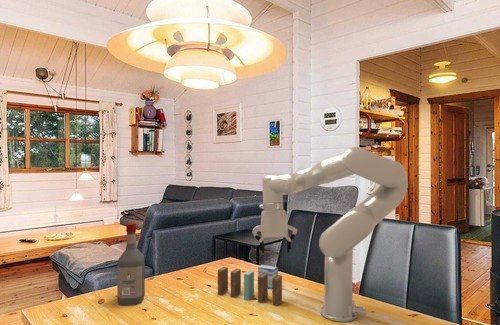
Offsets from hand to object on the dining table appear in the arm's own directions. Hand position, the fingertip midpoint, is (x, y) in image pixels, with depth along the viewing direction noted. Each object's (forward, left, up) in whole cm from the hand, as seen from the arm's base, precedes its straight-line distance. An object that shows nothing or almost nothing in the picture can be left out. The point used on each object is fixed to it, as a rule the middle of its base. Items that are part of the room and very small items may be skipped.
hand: (275, 251), depth 131 cm
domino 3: (+11, 0, -20) cm, 23 cm away
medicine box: (+9, -14, -20) cm, 26 cm away
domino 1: (+23, 0, -20) cm, 30 cm away
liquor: (+51, +23, -20) cm, 60 cm away
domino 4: (+5, 0, -20) cm, 20 cm away
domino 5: (-1, 0, -20) cm, 20 cm away
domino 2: (+17, 0, -20) cm, 26 cm away
